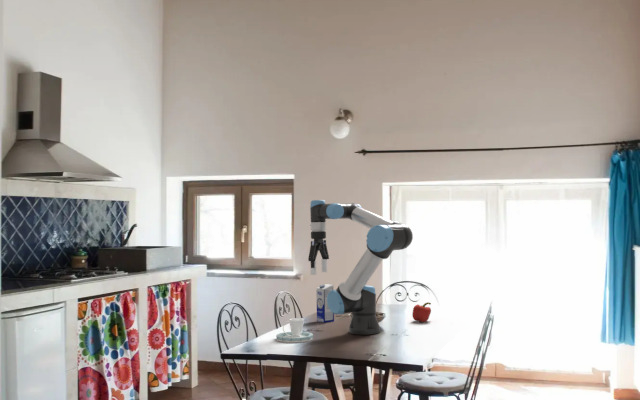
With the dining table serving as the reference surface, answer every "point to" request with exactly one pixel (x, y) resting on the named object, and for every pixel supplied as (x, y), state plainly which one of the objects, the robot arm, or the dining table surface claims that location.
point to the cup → (295, 326)
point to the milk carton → (324, 304)
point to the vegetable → (421, 312)
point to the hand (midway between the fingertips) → (319, 273)
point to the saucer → (286, 338)
